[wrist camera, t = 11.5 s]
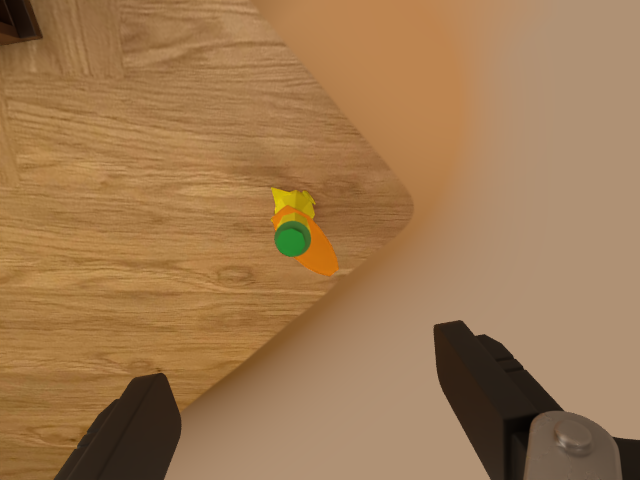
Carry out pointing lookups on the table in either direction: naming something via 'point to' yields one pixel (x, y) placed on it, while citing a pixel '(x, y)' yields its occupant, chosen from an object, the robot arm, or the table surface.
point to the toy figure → (301, 232)
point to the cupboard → (17, 22)
